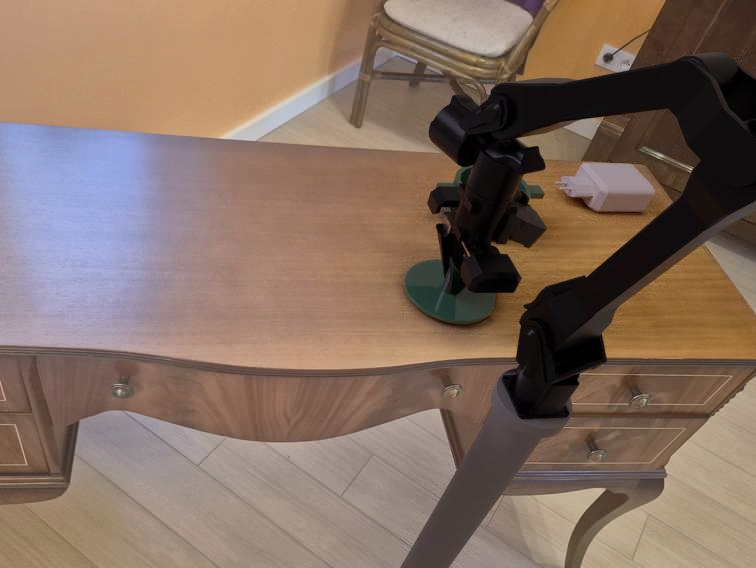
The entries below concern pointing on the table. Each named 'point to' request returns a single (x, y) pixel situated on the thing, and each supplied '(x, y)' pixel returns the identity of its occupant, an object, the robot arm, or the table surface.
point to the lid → (445, 295)
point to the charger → (609, 187)
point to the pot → (463, 176)
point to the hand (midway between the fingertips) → (451, 286)
